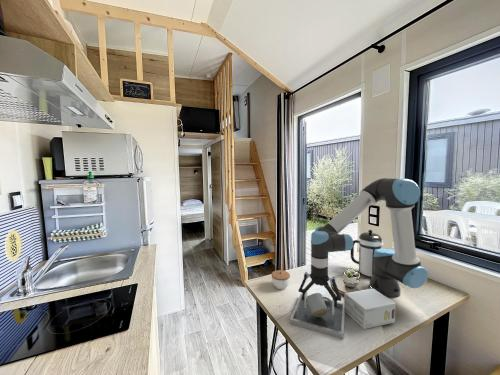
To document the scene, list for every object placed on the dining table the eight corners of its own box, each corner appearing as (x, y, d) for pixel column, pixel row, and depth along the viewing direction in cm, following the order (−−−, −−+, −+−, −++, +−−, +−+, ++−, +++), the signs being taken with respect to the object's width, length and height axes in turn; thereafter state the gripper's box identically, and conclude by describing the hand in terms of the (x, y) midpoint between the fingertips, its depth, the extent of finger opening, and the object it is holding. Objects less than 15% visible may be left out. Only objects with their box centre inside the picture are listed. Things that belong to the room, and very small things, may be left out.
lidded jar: (272, 281, 133) (272, 266, 133) (290, 283, 131) (290, 268, 130) (270, 290, 123) (270, 275, 122) (289, 292, 121) (289, 276, 120)
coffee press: (377, 270, 146) (378, 226, 144) (386, 281, 131) (388, 233, 129) (350, 268, 150) (350, 225, 148) (355, 279, 135) (356, 232, 133)
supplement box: (364, 330, 92) (364, 309, 91) (343, 310, 104) (343, 292, 104) (395, 322, 96) (396, 302, 95) (372, 305, 109) (372, 287, 108)
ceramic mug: (314, 320, 100) (311, 313, 95) (307, 302, 106) (304, 295, 102) (336, 312, 99) (334, 305, 94) (328, 295, 105) (326, 287, 101)
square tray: (345, 307, 107) (345, 303, 106) (343, 339, 87) (343, 334, 87) (300, 297, 116) (300, 293, 116) (290, 323, 96) (290, 319, 96)
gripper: (347, 266, 98) (347, 311, 99) (295, 258, 108) (295, 299, 110) (347, 273, 91) (346, 321, 93) (291, 263, 101) (292, 307, 103)
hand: (319, 309), depth 101 cm, fingers closed on ceramic mug, 12 cm apart
